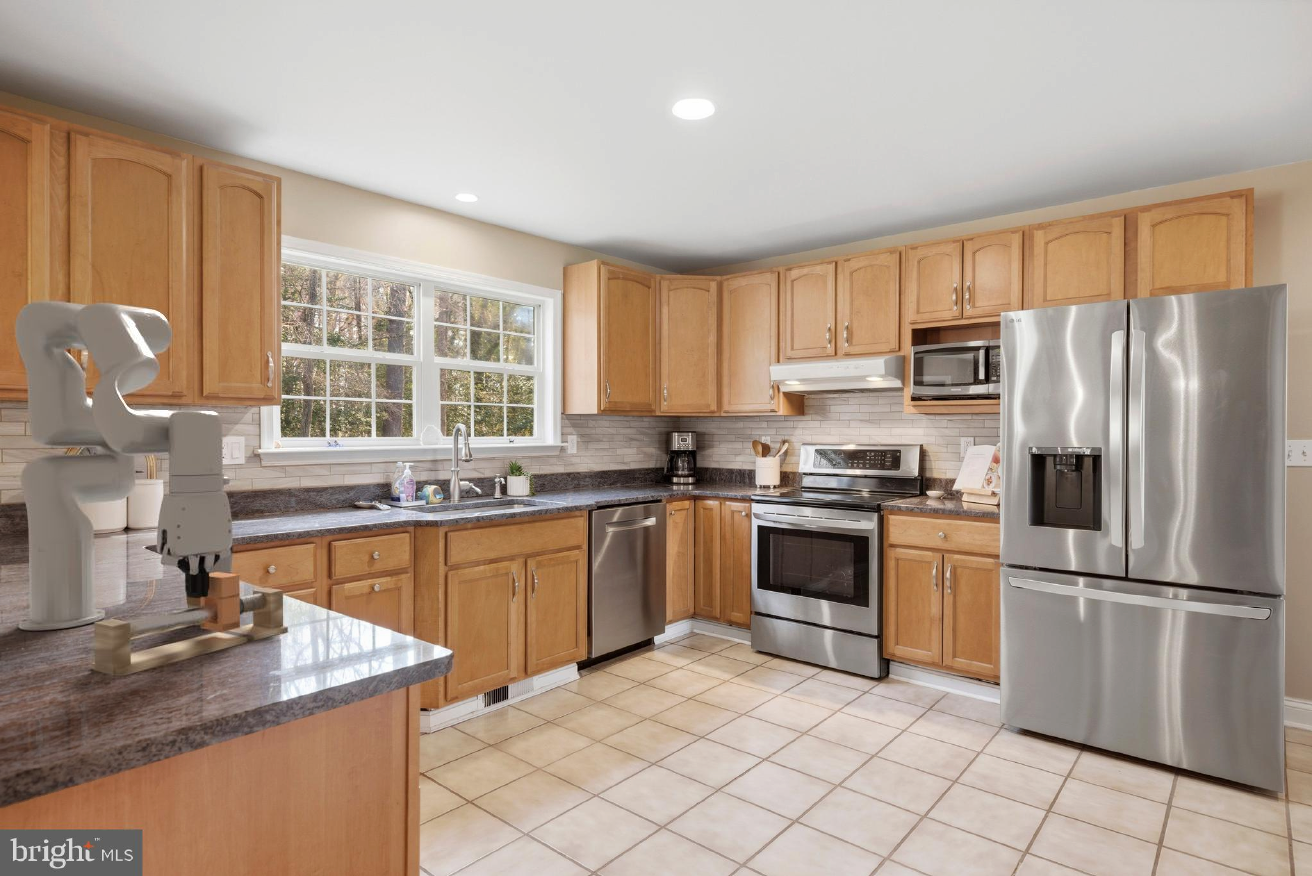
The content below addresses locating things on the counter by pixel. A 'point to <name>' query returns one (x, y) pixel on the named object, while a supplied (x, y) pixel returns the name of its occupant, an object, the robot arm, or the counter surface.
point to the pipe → (189, 616)
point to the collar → (223, 601)
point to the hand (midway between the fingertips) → (197, 596)
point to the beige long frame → (117, 642)
